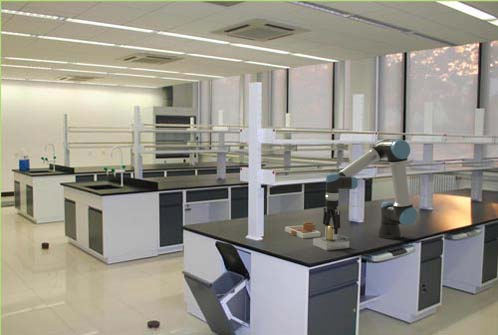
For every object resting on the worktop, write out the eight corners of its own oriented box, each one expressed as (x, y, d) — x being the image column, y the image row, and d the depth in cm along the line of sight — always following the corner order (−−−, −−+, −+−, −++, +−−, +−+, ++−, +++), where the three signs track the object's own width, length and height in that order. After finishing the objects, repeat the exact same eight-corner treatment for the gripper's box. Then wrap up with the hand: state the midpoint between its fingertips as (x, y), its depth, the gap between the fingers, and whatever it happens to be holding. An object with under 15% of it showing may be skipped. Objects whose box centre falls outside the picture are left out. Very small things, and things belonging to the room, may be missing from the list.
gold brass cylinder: (331, 245, 265) (332, 225, 265) (336, 246, 261) (336, 226, 261) (325, 245, 264) (326, 225, 263) (329, 247, 260) (330, 227, 259)
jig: (335, 242, 272) (335, 232, 272) (349, 247, 259) (349, 237, 259) (313, 244, 266) (313, 235, 265) (326, 250, 253) (326, 240, 252)
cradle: (301, 229, 309) (301, 225, 309) (320, 236, 288) (320, 232, 288) (284, 231, 304) (285, 226, 304) (302, 238, 283) (302, 233, 282)
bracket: (309, 231, 304) (310, 222, 304) (317, 234, 297) (318, 224, 297) (288, 233, 295) (289, 223, 295) (296, 236, 288) (296, 225, 288)
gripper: (317, 197, 268) (316, 235, 270) (336, 202, 250) (335, 242, 252) (327, 197, 271) (326, 234, 273) (347, 201, 253) (346, 241, 255)
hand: (331, 237), depth 262 cm, fingers open, 7 cm apart
